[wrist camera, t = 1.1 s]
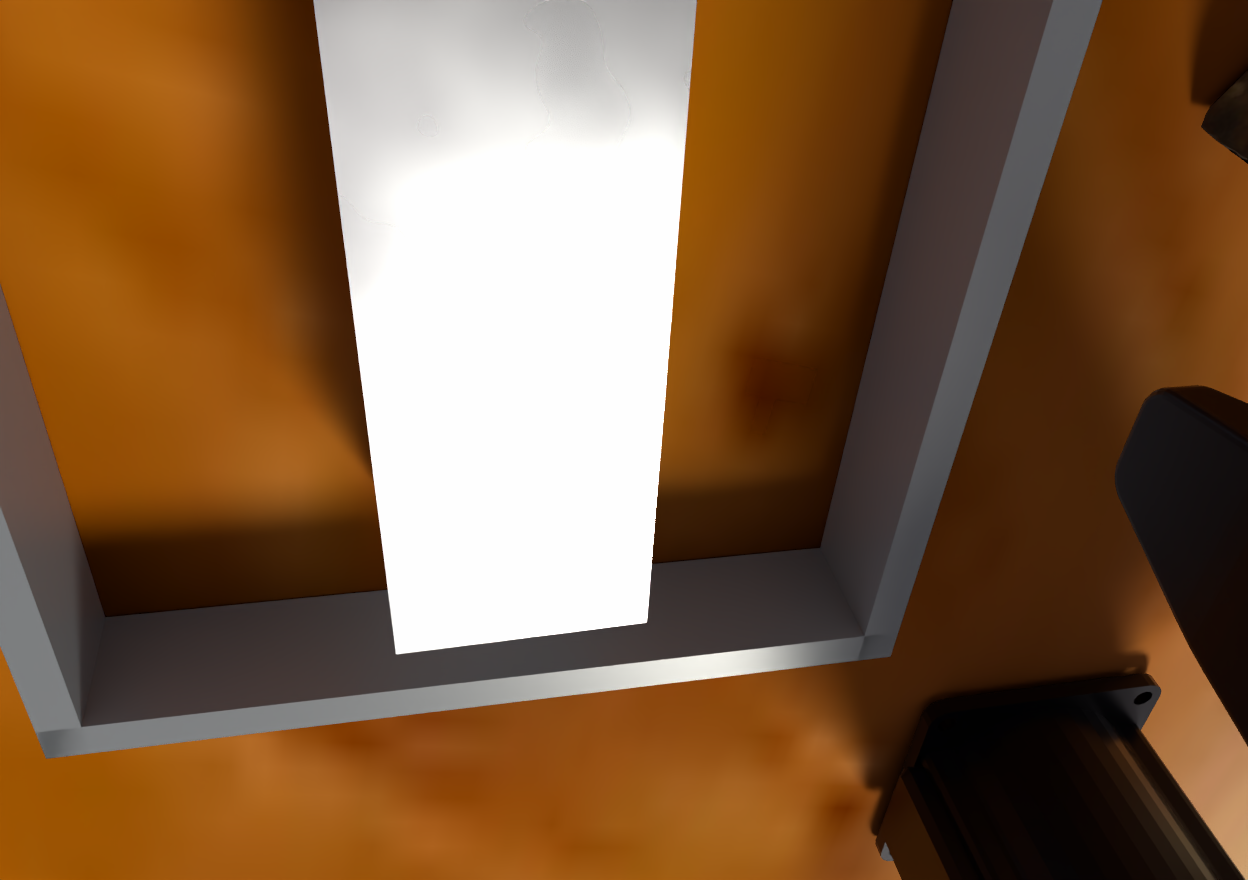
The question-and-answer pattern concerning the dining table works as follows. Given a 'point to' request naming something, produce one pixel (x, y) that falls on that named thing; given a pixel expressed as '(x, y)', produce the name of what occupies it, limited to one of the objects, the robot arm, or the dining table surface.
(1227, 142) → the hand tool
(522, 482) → the white square bar
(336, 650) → the case
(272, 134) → the dining table surface
